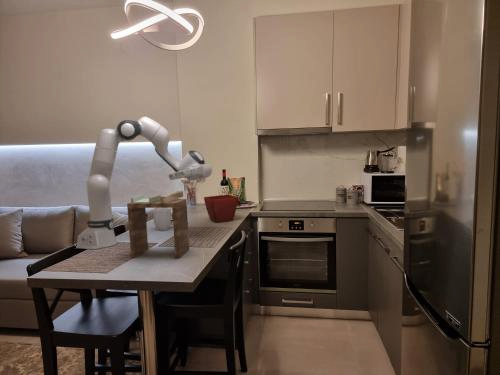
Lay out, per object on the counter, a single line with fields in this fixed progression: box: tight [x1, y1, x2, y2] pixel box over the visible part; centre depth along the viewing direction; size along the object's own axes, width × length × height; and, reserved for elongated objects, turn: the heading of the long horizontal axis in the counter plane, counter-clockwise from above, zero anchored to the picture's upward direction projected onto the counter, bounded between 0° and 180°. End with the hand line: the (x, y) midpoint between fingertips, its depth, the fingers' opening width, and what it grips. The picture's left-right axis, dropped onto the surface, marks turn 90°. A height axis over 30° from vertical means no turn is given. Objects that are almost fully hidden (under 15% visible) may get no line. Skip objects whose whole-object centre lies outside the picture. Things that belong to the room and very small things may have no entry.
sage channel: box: [130, 194, 161, 203], centre depth 168 cm, size 10×11×2 cm
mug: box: [152, 208, 173, 232], centre depth 224 cm, size 15×11×13 cm
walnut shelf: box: [126, 198, 190, 260], centre depth 168 cm, size 24×14×26 cm, turn 81°
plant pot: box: [203, 194, 239, 224], centre depth 245 cm, size 19×19×17 cm
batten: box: [160, 190, 184, 203], centre depth 170 cm, size 3×22×3 cm, turn 171°
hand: (176, 174), depth 184 cm, fingers open, 8 cm apart
